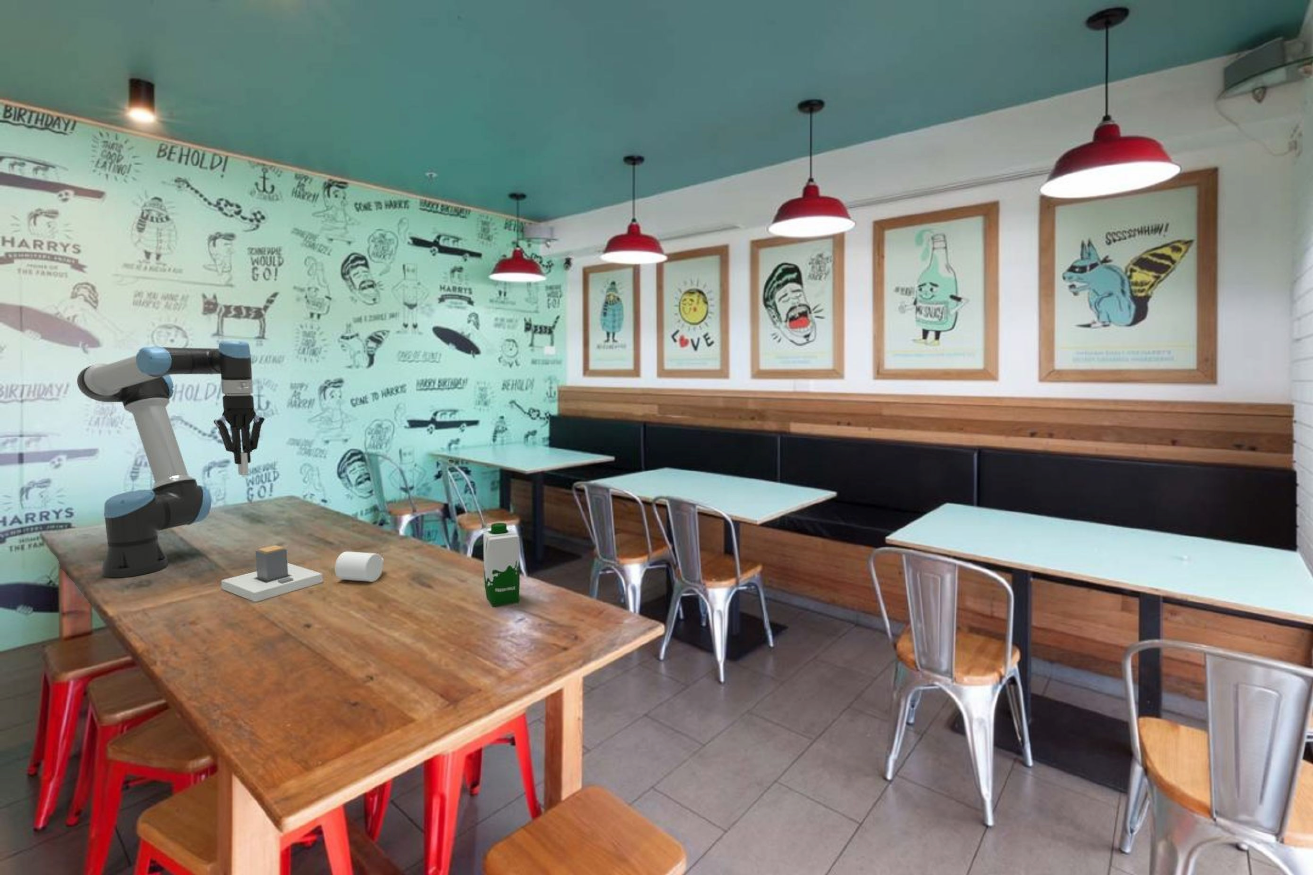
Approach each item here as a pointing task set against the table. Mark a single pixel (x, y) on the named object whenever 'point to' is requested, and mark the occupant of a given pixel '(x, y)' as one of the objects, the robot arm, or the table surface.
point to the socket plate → (271, 583)
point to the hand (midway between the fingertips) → (243, 474)
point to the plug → (271, 563)
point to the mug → (359, 566)
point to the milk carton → (501, 565)
